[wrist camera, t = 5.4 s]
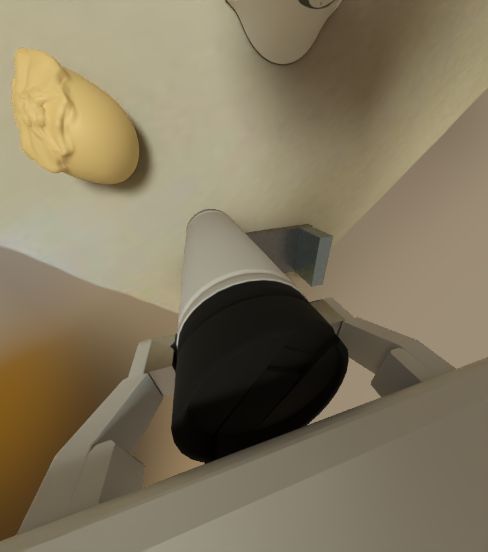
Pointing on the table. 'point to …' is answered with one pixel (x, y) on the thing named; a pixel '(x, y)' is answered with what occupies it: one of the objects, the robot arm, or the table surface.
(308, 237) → the vise
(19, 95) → the sculpture
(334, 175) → the table surface
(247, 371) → the travel mug
